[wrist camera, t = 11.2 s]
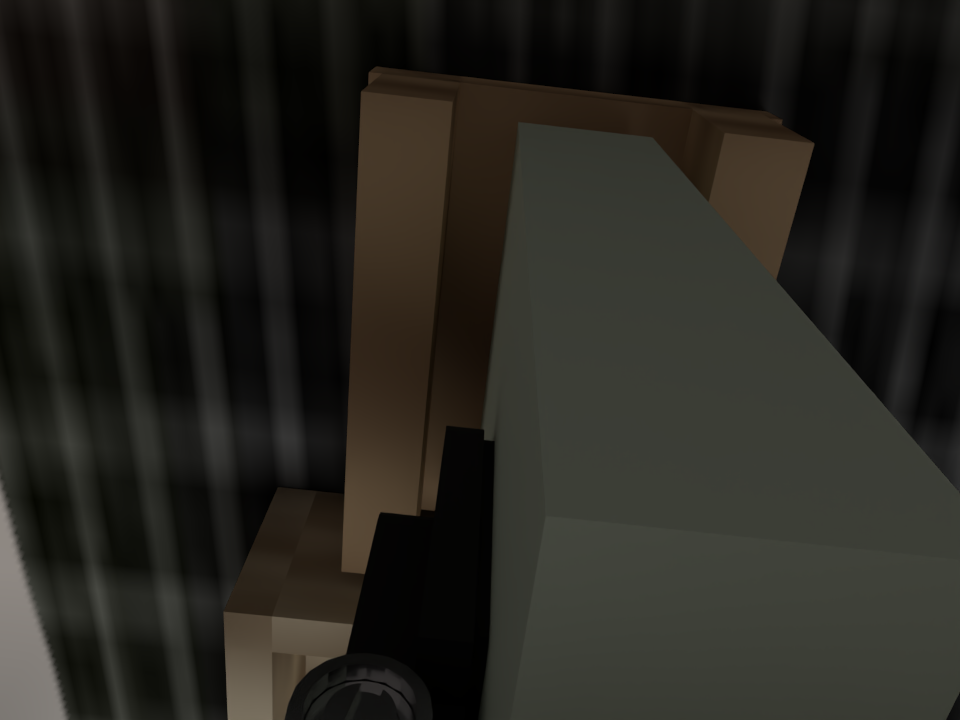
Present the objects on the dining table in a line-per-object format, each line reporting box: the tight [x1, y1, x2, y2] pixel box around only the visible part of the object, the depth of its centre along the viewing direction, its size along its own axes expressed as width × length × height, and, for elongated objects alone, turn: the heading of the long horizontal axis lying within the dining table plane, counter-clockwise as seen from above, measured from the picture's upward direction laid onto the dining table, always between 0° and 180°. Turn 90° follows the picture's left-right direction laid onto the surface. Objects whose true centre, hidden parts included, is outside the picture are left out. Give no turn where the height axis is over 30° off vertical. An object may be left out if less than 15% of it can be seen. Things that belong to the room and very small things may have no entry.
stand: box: [341, 67, 815, 574], centre depth 17 cm, size 10×8×4 cm
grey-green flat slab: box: [478, 122, 960, 720], centre depth 12 cm, size 9×2×12 cm, turn 174°
